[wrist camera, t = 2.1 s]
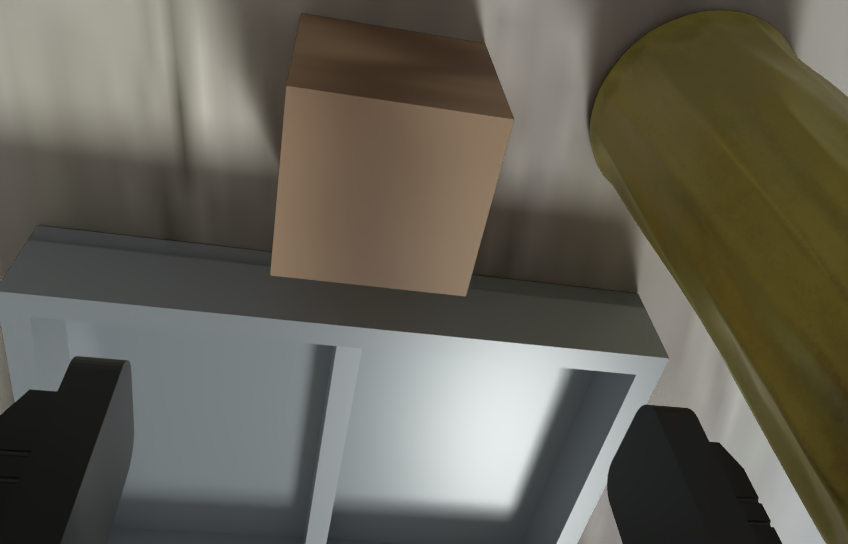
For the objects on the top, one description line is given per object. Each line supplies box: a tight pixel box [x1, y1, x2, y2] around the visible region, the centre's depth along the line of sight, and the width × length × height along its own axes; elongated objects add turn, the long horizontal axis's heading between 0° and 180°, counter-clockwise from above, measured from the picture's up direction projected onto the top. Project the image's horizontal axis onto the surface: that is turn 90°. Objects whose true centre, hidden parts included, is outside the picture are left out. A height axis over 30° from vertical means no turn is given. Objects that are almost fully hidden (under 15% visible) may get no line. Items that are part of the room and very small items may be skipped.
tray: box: [0, 226, 669, 544], centre depth 27 cm, size 20×15×3 cm
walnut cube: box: [270, 13, 514, 296], centre depth 20 cm, size 5×5×5 cm
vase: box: [590, 10, 848, 544], centre depth 17 cm, size 6×6×14 cm
